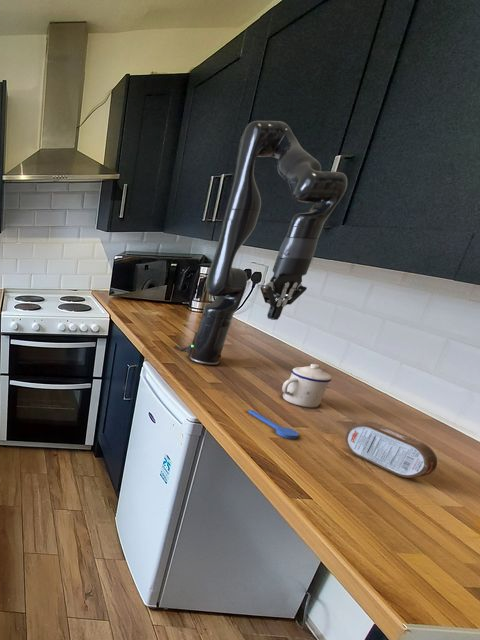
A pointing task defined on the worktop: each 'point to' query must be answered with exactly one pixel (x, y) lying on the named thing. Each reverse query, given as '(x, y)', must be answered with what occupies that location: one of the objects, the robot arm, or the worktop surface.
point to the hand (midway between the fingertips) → (272, 319)
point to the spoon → (276, 427)
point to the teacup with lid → (306, 386)
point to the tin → (391, 450)
